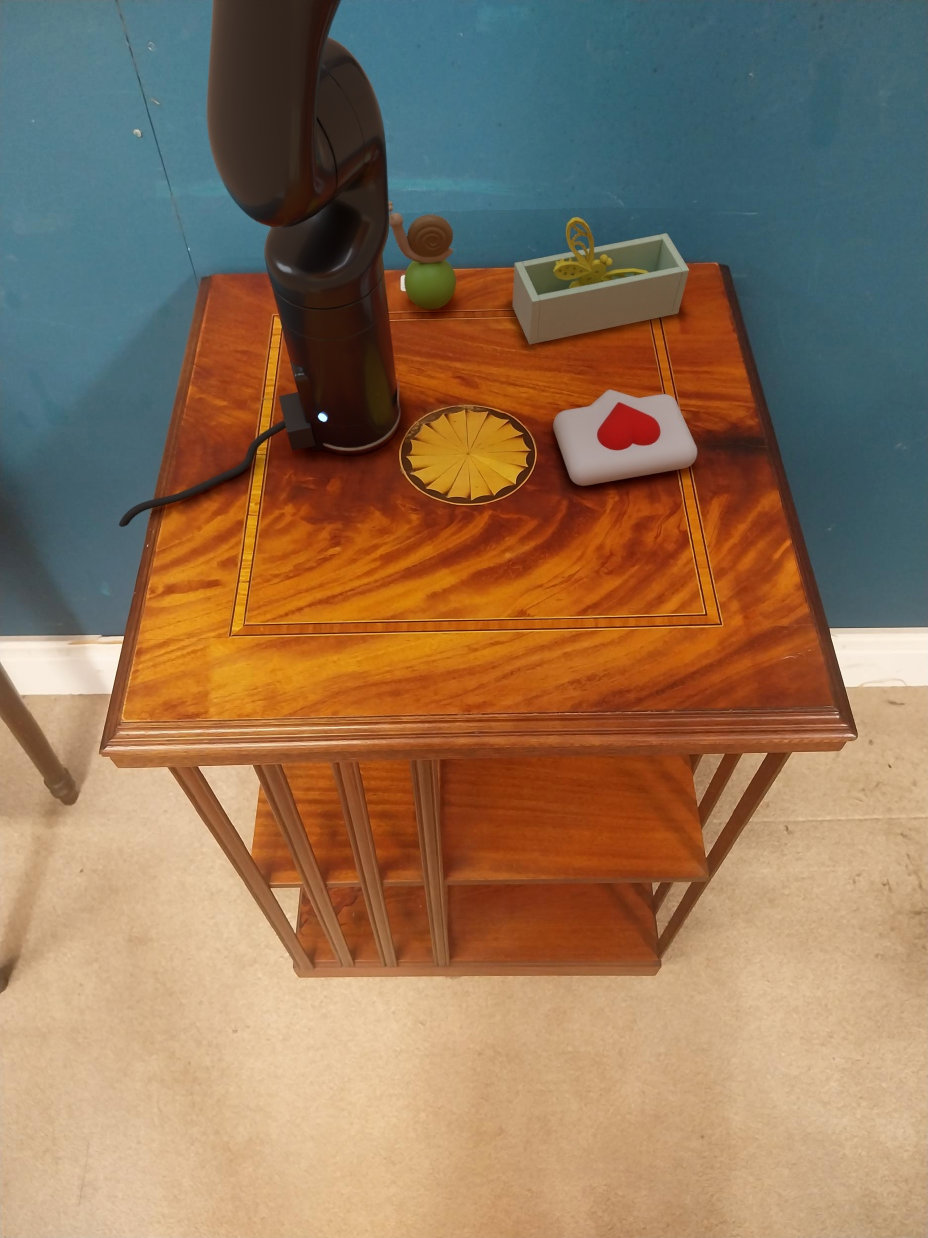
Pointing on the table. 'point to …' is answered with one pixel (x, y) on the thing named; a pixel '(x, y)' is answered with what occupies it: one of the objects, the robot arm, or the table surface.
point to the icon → (623, 438)
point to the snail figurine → (426, 259)
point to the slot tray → (599, 290)
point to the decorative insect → (587, 261)
